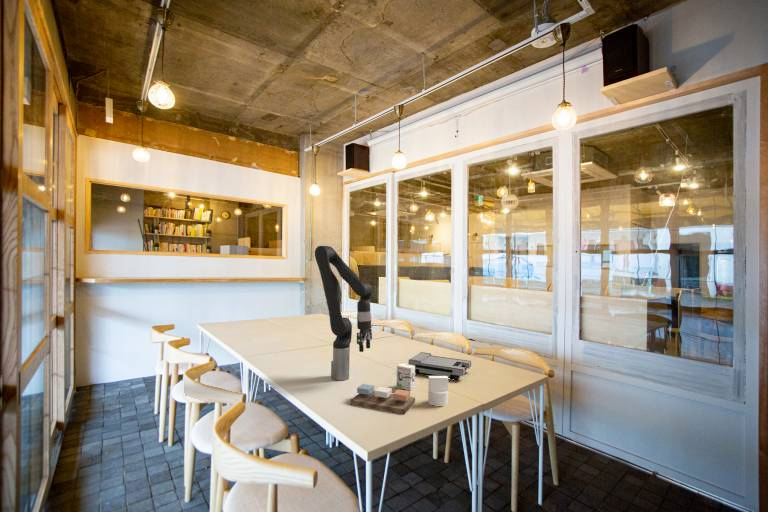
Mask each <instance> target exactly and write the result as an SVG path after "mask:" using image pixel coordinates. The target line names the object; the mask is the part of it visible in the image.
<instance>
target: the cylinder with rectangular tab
mask: <svg viewBox="0 0 768 512" xmlns="http://www.w3.org/2000/svg"><path fill="white" fill-rule="evenodd" d="M427 389H428V392H427V394H428V396H427V397H428V402H427V403H428V404H429V405H430V404H431V405H430V406H432V405H434V406H433V407H436V406H444V405H446V404H447V403H448V404H449V379H448V377H447V376H428V388H427ZM444 407H445V406H444Z"/></svg>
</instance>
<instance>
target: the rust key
mask: <svg viewBox="0 0 768 512" xmlns="http://www.w3.org/2000/svg"><path fill="white" fill-rule="evenodd" d="M392 394H393V399H395V400H401V401H407V400H408V399H409V397H411V391H408V390H403V389H396V390H395V392H393V393H392Z"/></svg>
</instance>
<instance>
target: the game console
mask: <svg viewBox="0 0 768 512" xmlns="http://www.w3.org/2000/svg"><path fill="white" fill-rule="evenodd" d="M407 363H408V365H413V366H415V373H416V374H415V375H418V374H423V375H422V376H424V375H429V376H447V377H448V378H450V379H455V378H456V379H460V378H461V377H463V376H464V375H465V374H466V371H467V369H468V370H469V369H470V368H471V367H472V361H471V360H468V359H467V360H466V359H460V358H459V359H458V358H452V357H447V356H446V357H444V356H437V355H432V353H429V352H421V351H420V352H419V353H417V354H416V355H414V356H412V357H411V358H409V359H408V362H407ZM429 376H428V377H429ZM456 379H455V380H456Z"/></svg>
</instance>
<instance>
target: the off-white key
mask: <svg viewBox="0 0 768 512" xmlns="http://www.w3.org/2000/svg"><path fill="white" fill-rule="evenodd" d="M374 391H375V396H378V397H384V398H388V397H389V396H390V395H391V394H393V388H392V387H391V388H390V387H384V386H379V387H377V388H376V389H374Z"/></svg>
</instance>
